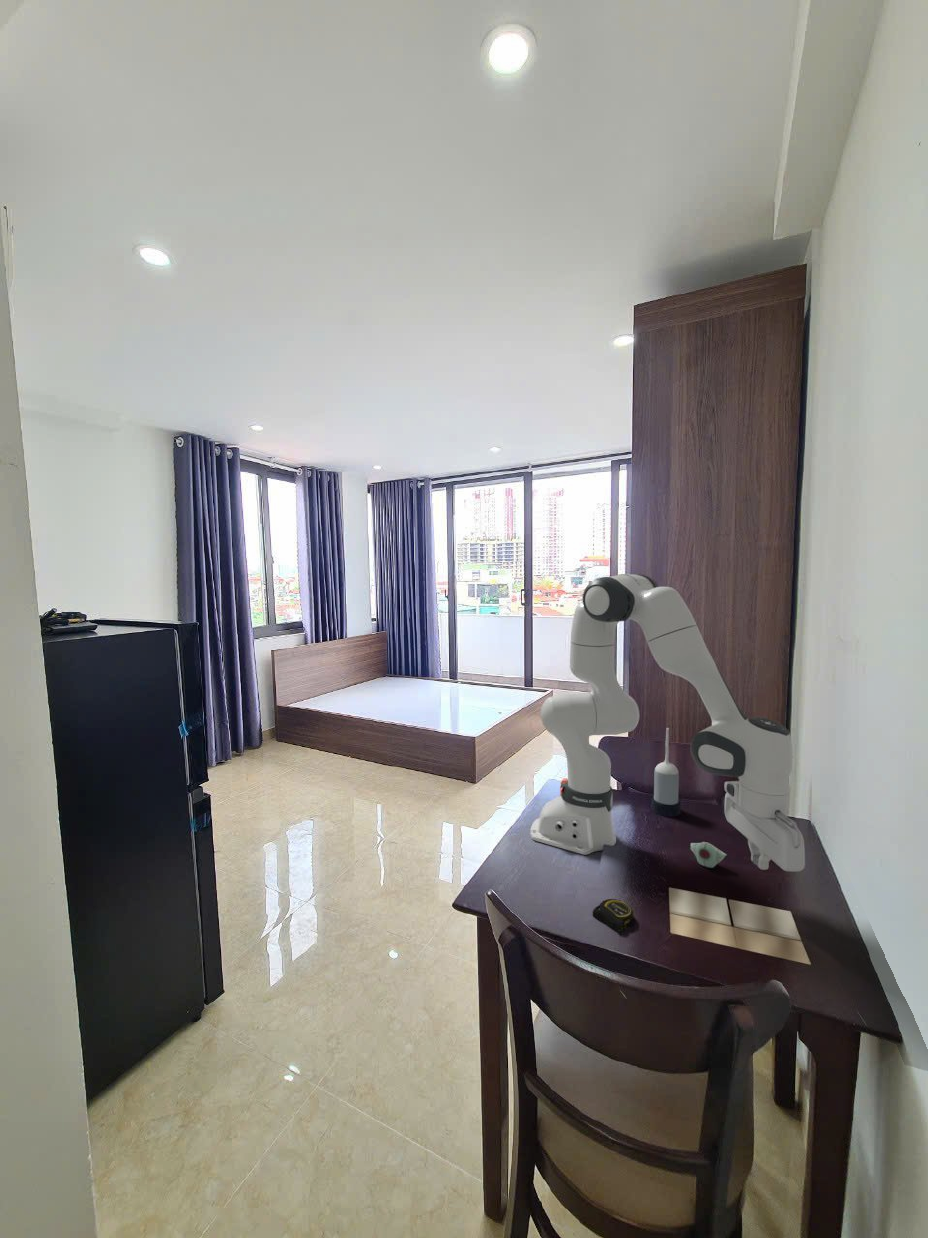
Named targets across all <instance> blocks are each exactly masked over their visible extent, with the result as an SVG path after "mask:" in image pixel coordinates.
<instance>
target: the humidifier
mask: <svg viewBox="0 0 928 1238" xmlns="http://www.w3.org/2000/svg"><path fill="white" fill-rule="evenodd" d="M669 740H670V728H669V727H666V730H665V757H664V758H665V759H664V761H663V762H659V763H658V764H657V765H656V767H654V775H653V777H654V778H653V782H654V783H653V797H652V798H651V804H650V807H651V809H650V810H651V811H653V813H655V814H657V815H659V816H662V817H671V818H673V817H674V818H675V817H678V816H679V815H681V812H682V810H681V809H682V807H681V806H682V805H681V801H680V800H679V785H680V784H679V782H680V781H679V779H680V776H679V775H680V774H679V769H678V768H677V767H676V766H675V765H674V764H673V763H671V762H670V761H669V754H670V750H669V748H670V747H669V743H670V742H669Z"/></svg>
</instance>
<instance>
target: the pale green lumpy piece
mask: <svg viewBox="0 0 928 1238" xmlns="http://www.w3.org/2000/svg"><path fill="white" fill-rule="evenodd" d="M690 850H691V851H692V853H693V854H694V856H695V857H696V860H697V863H698V864H699V865H701V866H703V867H705V868H711V869H712V868H715V867H716V866H717V864H719V863H720V862H721V861H723V860H724V859H725V857H726V856H727V855H728V853H727V854H726V853H725V852H724V851H722V850H720V849H719V848H717V847H716V846H714V845H713V844H711V843H710V842H705V841H702V842H691V843H690Z"/></svg>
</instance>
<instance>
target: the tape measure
mask: <svg viewBox="0 0 928 1238" xmlns="http://www.w3.org/2000/svg"><path fill="white" fill-rule="evenodd" d="M592 917H593V918H595V919H596V920H598V921H600V922H602V923H603V924H605V925H606V926H607V927H609V928H610V929H611V930H613V931H615V932H617V934H618V935H621V934H622V932H624V931H625V930H626V929H627V928H629V927H632V926H634V925H635V924H636V923H635V921H636V920H635V916H634V911H633V909H632V907H631V906H630V905H629V904H628V903H626V902H624V900H623V901H622V900H620V899H618V898H617V899H616V898H608V899H604V900H602V901H601V902H600V903H599V904H598V905H597V906H596V907H594V908H593V910H592Z"/></svg>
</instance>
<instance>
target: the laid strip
mask: <svg viewBox="0 0 928 1238" xmlns="http://www.w3.org/2000/svg"><path fill="white" fill-rule="evenodd" d="M669 927H670V930H669V931H670V934H674V935H678V936H682V937H687V938H691V939H696V940H701V941H705V942H709V943H713V944H716V945H717V944H718V945H722V946H726V947H731V948H735V949H739V950H744V951H748V952H752V953H757V954H761V955H766V956H769V957H774V958H779V959H783V960H787V961H793V962H797V963H802V964H806V965H809V966H810V965H812V964H811V961H810V959H809V956H808V954H807V951H806V949H805V947H804V944H803V941H802V940H801V941H800V940H795V939H790V938H786V937H781V936H776V935H772V934H767V933H762V932H758V931H753V930H748V929H744V928H739V927H734V926H732V925H731V926H729V925H725V924H720V923H715V922H711V921H706V920H701V919H697V918H692V917H687V916H683V915H678V914H673V913H669Z"/></svg>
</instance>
